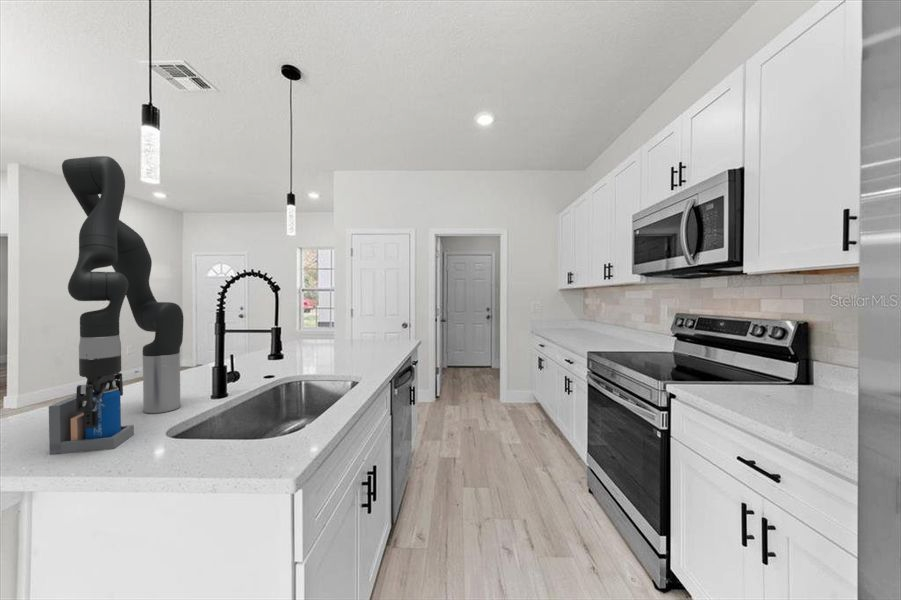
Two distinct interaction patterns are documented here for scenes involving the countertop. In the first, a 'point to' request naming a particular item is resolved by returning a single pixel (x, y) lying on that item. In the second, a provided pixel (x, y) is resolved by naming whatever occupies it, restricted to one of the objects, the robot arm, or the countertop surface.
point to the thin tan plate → (77, 427)
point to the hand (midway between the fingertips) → (101, 421)
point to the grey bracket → (62, 431)
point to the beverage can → (107, 416)
